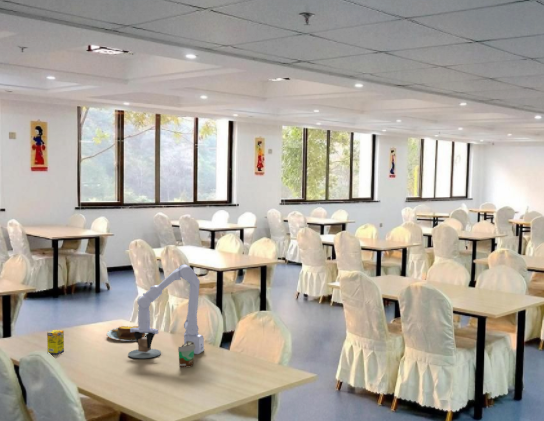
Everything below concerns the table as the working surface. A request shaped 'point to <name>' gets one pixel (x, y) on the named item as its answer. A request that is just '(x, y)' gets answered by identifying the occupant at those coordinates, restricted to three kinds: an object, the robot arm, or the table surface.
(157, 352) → the slate dish
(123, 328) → the food on plate
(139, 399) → the table surface
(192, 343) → the food container
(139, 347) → the walnut block
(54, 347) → the supplement box
